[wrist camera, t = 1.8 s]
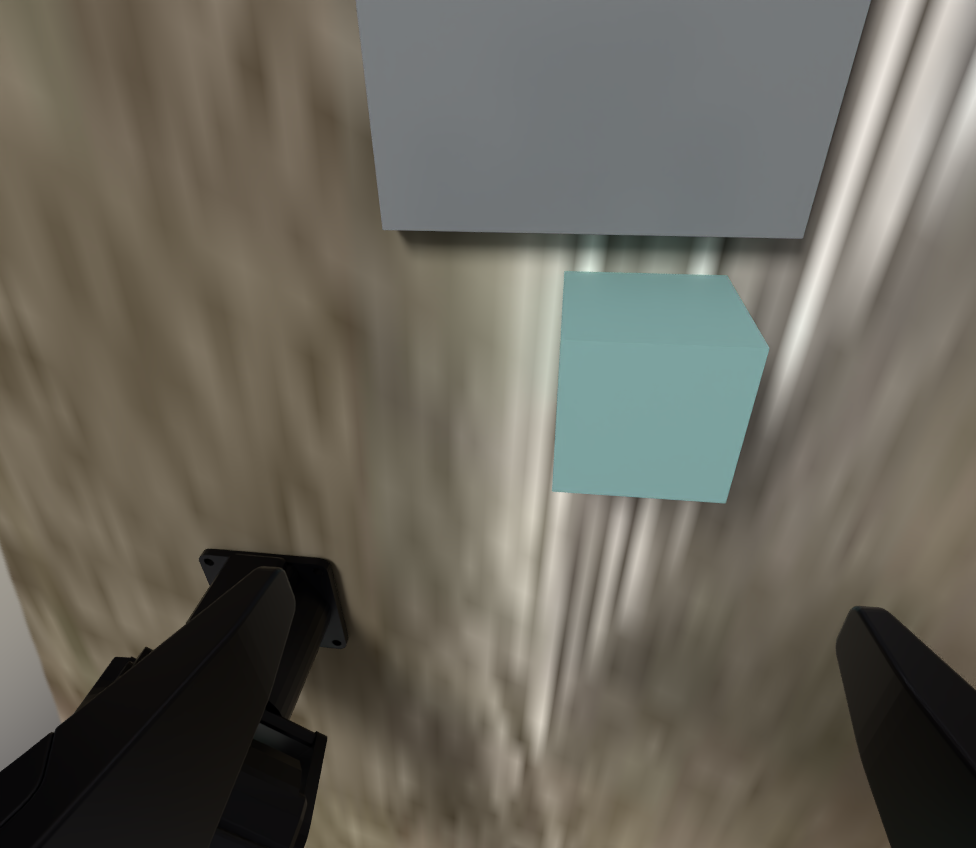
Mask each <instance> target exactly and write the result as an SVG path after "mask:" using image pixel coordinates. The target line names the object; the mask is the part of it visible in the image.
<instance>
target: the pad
mask: <svg viewBox="0 0 976 848" xmlns="http://www.w3.org/2000/svg"><path fill="white" fill-rule="evenodd" d="M870 2H871V0H356V7H357V16H358V24H359V33H360V41H361V50H362V58H363V67H364V75H365V84H366V92H367V101H368V109H369V118H370V126H371V135H372V143H373V152H374V160H375V169H376V177H377V186H378V194H379V203H380V211H381V220H382V228H383V230H413V231H461V232H509V233H557V234H605V235H653V236H701V237H749V238H797V239H803V236H804V232H805V229H806V225H807V222H808V218H809V215H810V211H811V208H812V204H813V201H814V197H815V194H816V190H817V187H818V183H819V180H820V176H821V173H822V169H823V166H824V162H825V159H826V155H827V152H828V148H829V145H830V142H831V138H832V135H833V131H834V128H835V124H836V121H837V117H838V114H839V110H840V107H841V103H842V100H843V96H844V93H845V89H846V86H847V82H848V79H849V75H850V72H851V68H852V65H853V61H854V58H855V54H856V51H857V47H858V44H859V40H860V37H861V33H862V30H863V26H864V23H865V19H866V16H867V13H868V9H869V6H870Z"/></svg>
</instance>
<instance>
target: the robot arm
mask: <svg viewBox="0 0 976 848" xmlns="http://www.w3.org/2000/svg"><path fill="white" fill-rule="evenodd" d="M199 562H200V564H201V566H202V569H203V571H204V573H205V576H206V578H207V580H208V583H209V585H210V587H209V588H208V590H207V591H206V593H205V594H204V596H203V597H202V599H201V601H200V602H199V604H198V605H197V607H196V608H195V610H194V611H193V613H192V614H191V616H190V618H189V619H188V621H187V622H186V625H184V626H183V627H182V628H181V629H179V630H178V631H177V632H176V633H174V634H173V635H172V636H171V637H169V638H168V639H167V640H166V641H164V642H163V643H162V644H161V645H159V646H158V647H157V648H156V649H154V650H152V649H150V648H148V647H145V648H144V649H143V651H142V652H141V653H140V655H139V656H138V657H137V658H133V657H131V658H127V657H114V659H113V660H112V661H111V663H110V664H109V666H108V667H107V668H106V670H105V671H104V673H103V674H102V675H101V677H100V678H99V679H98V681H97V682H96V684H95V685H94V686H93V688H92V689H91V690H90V692H89V693H88V695H87V696H86V697H85V699H84V700H83V702H82V703H81V704H80V706H79V707H78V708H77V710H76V711H75V713H74V714H73V715H72V716H70V717H69V718H68V719H67V720H65V721H64V722H63V723H62V724H60V725H59V726H58V727H57V728H56V729H55V732H51V733H49V734H48V735H47V736H45V737H44V738H43V739H41V740H40V741H39V742H38V743H36V744H35V745H34V746H33V747H31V748H30V749H29V750H28V751H26V752H25V753H24V754H23V755H21V756H20V757H19V758H17V759H16V760H15V761H14V762H12V763H11V764H10V765H9V766H7V767H6V768H4V769H3V770H2V771H1V772H0V848H304V846H305V843H306V840H307V837H308V833H309V829H310V825H311V820H312V815H313V810H314V805H315V799H316V794H317V789H318V784H319V779H320V774H321V769H322V763H323V758H324V753H325V748H326V743H327V736H325V735H323V734H321V733H319V732H317V731H316V732H315V733H314V732H312V731H310V730H308V729H306V728H304V727H302V726H300V725H298V724H296V723H294V722H292V721H290V717H291V715H292V712H293V710H294V708H295V705H296V703H297V700H298V698H299V695H300V693H301V691H302V688H303V686H304V683H305V681H306V678H307V676H308V674H309V671H310V669H311V666H312V664H313V661H314V659H315V657H316V654H317V652H318V649H319V647H327V648H337V649H342V648H345V646H346V644H347V642H348V633H347V629H346V625H345V621H344V617H343V613H342V609H341V605H340V601H339V597H338V593H337V589H336V585H335V580H334V576H333V572H332V568H331V565H330V563H328V562H327V561H326V560H324V559H320V558H310V557H299V556H287V555H276V554H264V553H253V552H241V551H230V550H218V549H206V550H204V551H203V553H202V554H201V556H200V557H199ZM836 655H837V659H838V664H839V668H840V673H841V677H842V681H843V686H844V690H845V694H846V699H847V703H848V707H849V712H850V716H851V721H852V725H853V729H854V734H855V738H856V742H857V746H858V750H859V754H860V758H861V761H862V764H863V767H864V770H865V773H866V776H867V779H868V782H869V785H870V788H871V791H872V794H873V797H874V799H875V802H876V805H877V808H878V811H879V814H880V817H881V820H882V823H883V825H884V828H885V831H886V834H887V837H888V840H889V843H890V846H891V848H976V690H975V689H974V688H973V687H972V686H971V685H970V684H968V683H967V682H966V681H965V680H964V679H963V678H962V677H961V676H960V675H958V674H957V673H956V672H955V671H954V670H953V669H952V668H951V667H950V666H948V665H947V664H946V663H945V662H944V661H943V660H942V659H941V658H940V657H938V656H937V655H936V654H935V653H934V652H933V651H932V650H931V649H930V648H928V647H927V646H926V645H925V644H924V643H923V642H922V641H921V640H920V639H918V638H917V637H916V636H915V635H914V634H913V633H912V632H911V631H910V630H908V629H907V628H906V627H905V626H904V625H903V624H902V623H901V622H900V621H899V620H897V619H896V618H895V617H894V616H893V615H892V614H891V613H889V612H888V611H886V610H885V609H883V608H879V607H866V606H855V607H853V608H852V609H851V610H850V611H849V613H848V615H847V617H846V619H845V622H844V624H843V626H842V628H841V630H840V632H839V635H838V637H837V640H836Z"/></svg>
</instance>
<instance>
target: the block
mask: <svg viewBox="0 0 976 848" xmlns="http://www.w3.org/2000/svg"><path fill="white" fill-rule="evenodd" d="M768 352H769V347H768V345H767V343H766V342H765V340H764V338H763V336H762V335H761V333H760V331H759V330H758V328H757V326H756V324H755V323H754V321H753V319H752V318H751V316H750V314H749V312H748V311H747V309H746V307H745V306H744V304H743V302H742V300H741V299H740V297H739V295H738V293H737V292H736V290H735V288H734V287H733V285H732V283H731V281H730V280H729V278H728V276H726V275H688V274H650V273H612V272H575V271H564V288H563V306H562V323H561V341H560V358H559V376H558V393H557V411H556V430H555V449H554V467H553V486H552V491H553V492H568V493H582V494H597V495H612V496H626V497H641V498H656V499H670V500H685V501H700V502H714V503H726V500H727V497H728V493H729V490H730V486H731V483H732V479H733V476H734V472H735V469H736V465H737V461H738V458H739V454H740V451H741V447H742V444H743V440H744V437H745V433H746V430H747V426H748V422H749V419H750V415H751V412H752V408H753V405H754V401H755V398H756V394H757V391H758V387H759V383H760V380H761V376H762V373H763V369H764V366H765V362H766V359H767V355H768Z"/></svg>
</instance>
